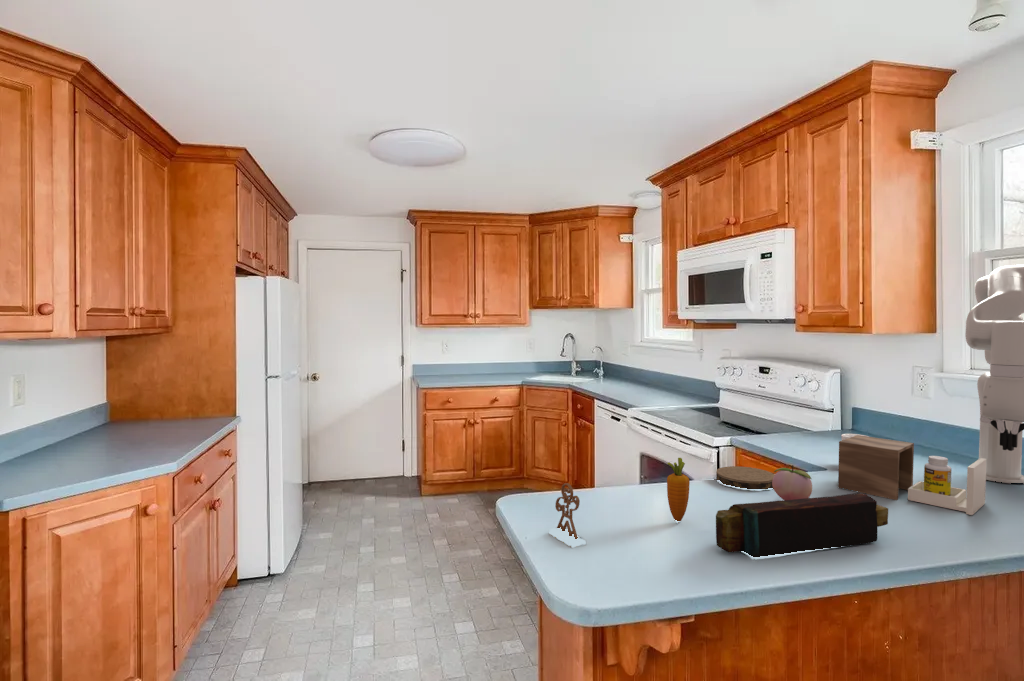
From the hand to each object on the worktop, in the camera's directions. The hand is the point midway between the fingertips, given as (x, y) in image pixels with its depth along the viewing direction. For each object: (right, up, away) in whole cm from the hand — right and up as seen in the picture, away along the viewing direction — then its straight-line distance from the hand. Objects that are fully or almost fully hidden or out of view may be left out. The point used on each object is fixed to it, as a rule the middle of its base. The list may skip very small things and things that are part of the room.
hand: (1008, 449), depth 133 cm
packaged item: (-58, -17, -16) cm, 62 cm away
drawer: (-7, -15, +10) cm, 20 cm away
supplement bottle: (-8, -15, +11) cm, 20 cm away
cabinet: (-17, -15, +22) cm, 32 cm away
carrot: (-80, -16, -4) cm, 82 cm away
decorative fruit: (-47, -16, +9) cm, 50 cm away
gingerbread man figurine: (-106, -17, -13) cm, 108 cm away
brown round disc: (-51, -16, +28) cm, 60 cm away
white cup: (-9, -15, +45) cm, 48 cm away
